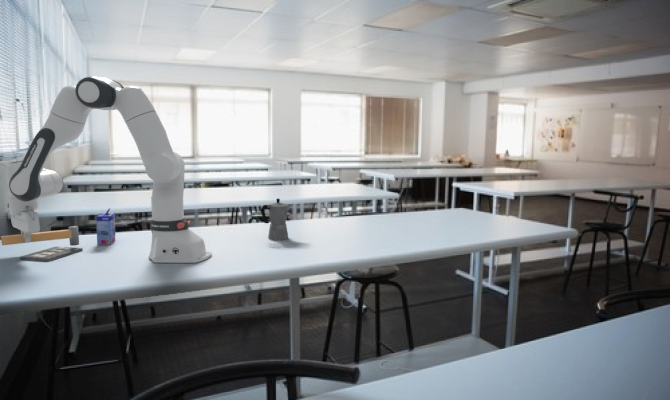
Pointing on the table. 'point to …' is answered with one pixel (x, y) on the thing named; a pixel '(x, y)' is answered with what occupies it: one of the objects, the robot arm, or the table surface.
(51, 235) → the hammer
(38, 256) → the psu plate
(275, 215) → the coffeepot
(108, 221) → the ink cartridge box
